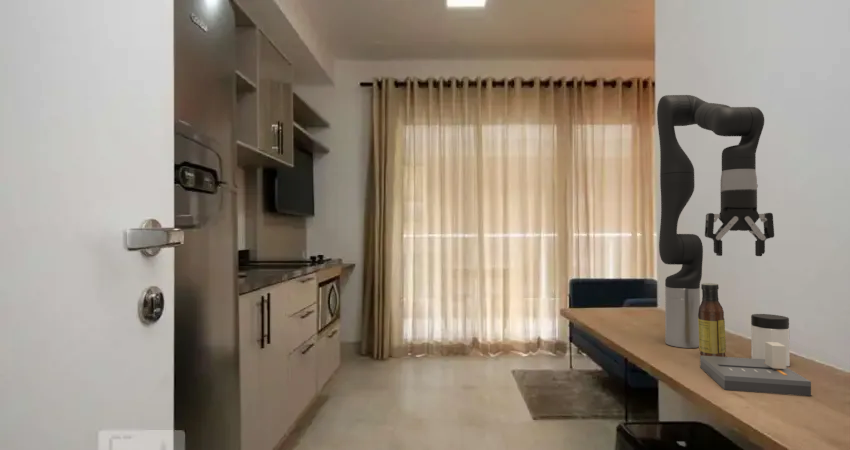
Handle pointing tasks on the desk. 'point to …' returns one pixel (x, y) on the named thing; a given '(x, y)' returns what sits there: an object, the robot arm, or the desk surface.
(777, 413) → the desk surface
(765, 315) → the jar
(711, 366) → the fader console
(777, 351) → the fader tab
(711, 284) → the sauce bottle
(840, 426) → the desk surface
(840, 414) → the desk surface
